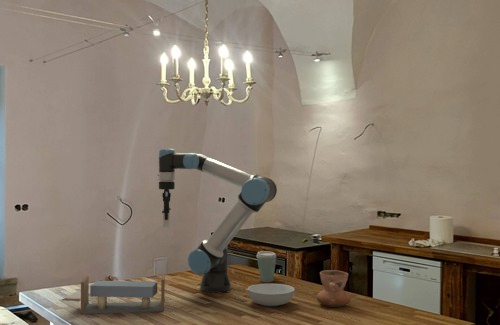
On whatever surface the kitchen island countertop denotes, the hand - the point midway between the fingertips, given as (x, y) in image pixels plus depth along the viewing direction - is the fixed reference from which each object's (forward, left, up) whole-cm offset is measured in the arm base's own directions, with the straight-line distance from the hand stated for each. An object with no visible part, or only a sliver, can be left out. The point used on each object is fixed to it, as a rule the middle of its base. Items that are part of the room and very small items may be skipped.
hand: (166, 225), depth 248 cm
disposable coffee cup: (-52, -16, -32) cm, 63 cm away
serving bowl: (-46, +28, -32) cm, 63 cm away
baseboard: (+38, -3, -32) cm, 50 cm away
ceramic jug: (-73, +33, -32) cm, 86 cm away
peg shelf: (+17, +28, -32) cm, 46 cm away
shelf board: (+17, +28, -26) cm, 42 cm away
